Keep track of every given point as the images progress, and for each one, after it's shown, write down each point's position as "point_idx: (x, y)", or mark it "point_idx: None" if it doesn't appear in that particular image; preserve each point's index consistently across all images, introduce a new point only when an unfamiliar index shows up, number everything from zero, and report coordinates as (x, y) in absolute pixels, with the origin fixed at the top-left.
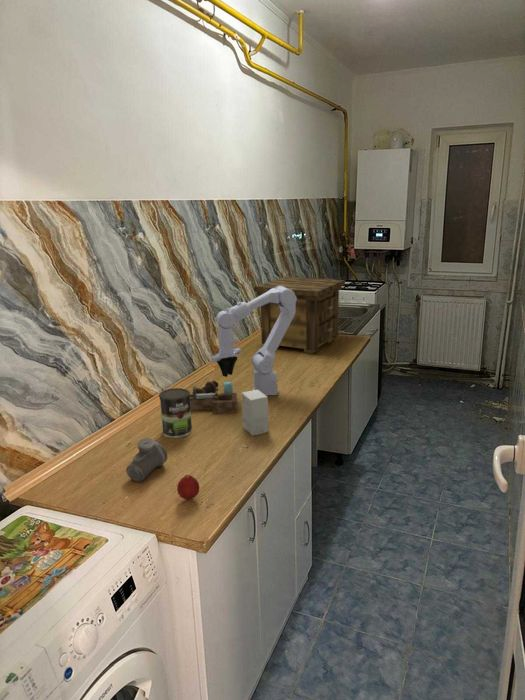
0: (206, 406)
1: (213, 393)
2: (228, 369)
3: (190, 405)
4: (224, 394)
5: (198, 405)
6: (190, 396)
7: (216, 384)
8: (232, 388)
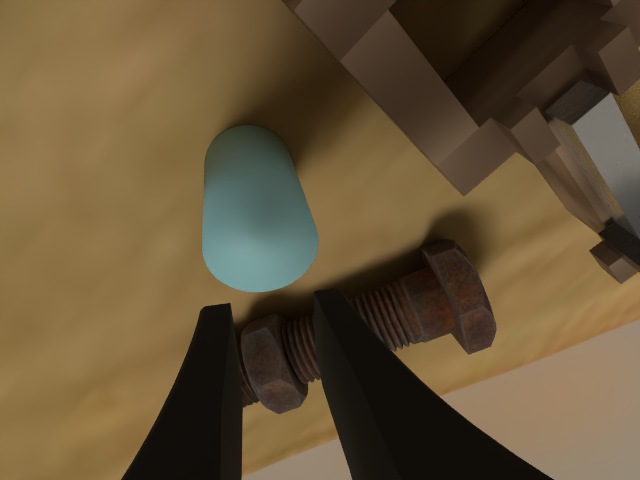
0: None
1: (583, 131)
2: (237, 413)
3: None
4: (425, 95)
5: None
6: None
7: None
8: (223, 176)
